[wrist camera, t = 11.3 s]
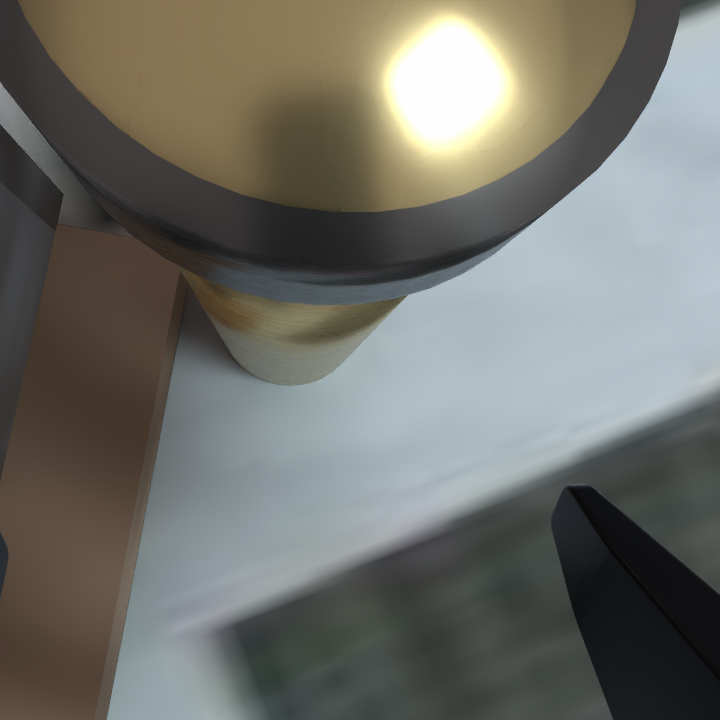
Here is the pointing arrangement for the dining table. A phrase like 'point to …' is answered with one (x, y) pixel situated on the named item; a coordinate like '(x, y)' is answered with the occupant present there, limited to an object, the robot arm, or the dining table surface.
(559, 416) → the dining table surface
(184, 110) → the brass peg
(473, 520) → the dining table surface
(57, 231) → the board with square socket
